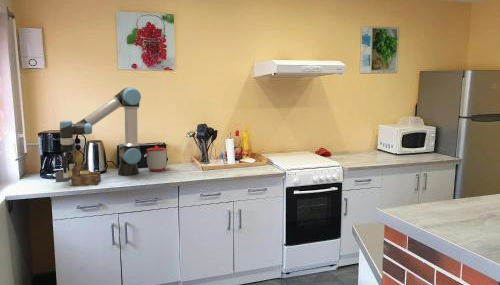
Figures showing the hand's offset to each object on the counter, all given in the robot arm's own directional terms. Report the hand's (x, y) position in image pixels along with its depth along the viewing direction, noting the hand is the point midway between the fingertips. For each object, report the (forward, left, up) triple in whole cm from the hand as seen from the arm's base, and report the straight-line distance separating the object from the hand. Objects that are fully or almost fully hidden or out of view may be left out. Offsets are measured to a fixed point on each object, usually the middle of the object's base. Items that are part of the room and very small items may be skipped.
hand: (68, 175), depth 249 cm
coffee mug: (+10, -34, -7) cm, 36 cm away
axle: (-5, 0, +1) cm, 5 cm away
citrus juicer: (-55, -33, -7) cm, 64 cm away
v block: (+7, -13, -6) cm, 16 cm away
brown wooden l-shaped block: (-11, 0, -6) cm, 13 cm away
